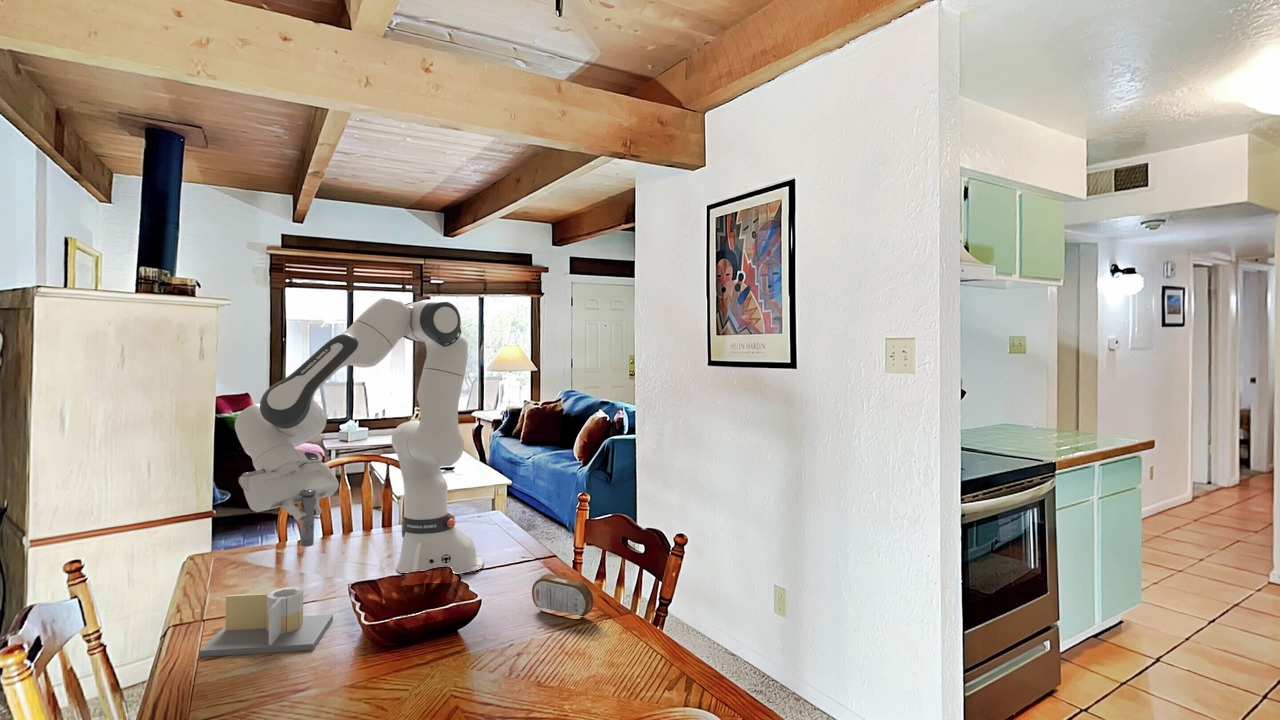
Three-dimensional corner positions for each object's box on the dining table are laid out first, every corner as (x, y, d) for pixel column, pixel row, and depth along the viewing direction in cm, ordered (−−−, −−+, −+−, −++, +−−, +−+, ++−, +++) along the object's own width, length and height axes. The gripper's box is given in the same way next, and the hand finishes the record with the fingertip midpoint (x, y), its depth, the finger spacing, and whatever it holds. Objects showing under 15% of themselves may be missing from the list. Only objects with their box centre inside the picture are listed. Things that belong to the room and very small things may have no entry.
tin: (593, 619, 145) (594, 581, 144) (586, 624, 142) (587, 586, 142) (537, 606, 151) (537, 570, 151) (529, 611, 148) (530, 574, 148)
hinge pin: (317, 542, 145) (318, 489, 145) (312, 546, 142) (314, 492, 142) (301, 542, 144) (303, 489, 144) (296, 547, 141) (298, 492, 141)
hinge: (332, 620, 141) (333, 582, 141) (313, 650, 127) (313, 608, 127) (231, 625, 137) (231, 586, 137) (199, 657, 123) (200, 614, 123)
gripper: (242, 465, 136) (273, 517, 132) (325, 452, 155) (354, 498, 151) (228, 483, 138) (257, 536, 134) (312, 469, 157) (340, 515, 153)
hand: (309, 516), depth 143 cm, fingers closed on hinge pin, 3 cm apart
